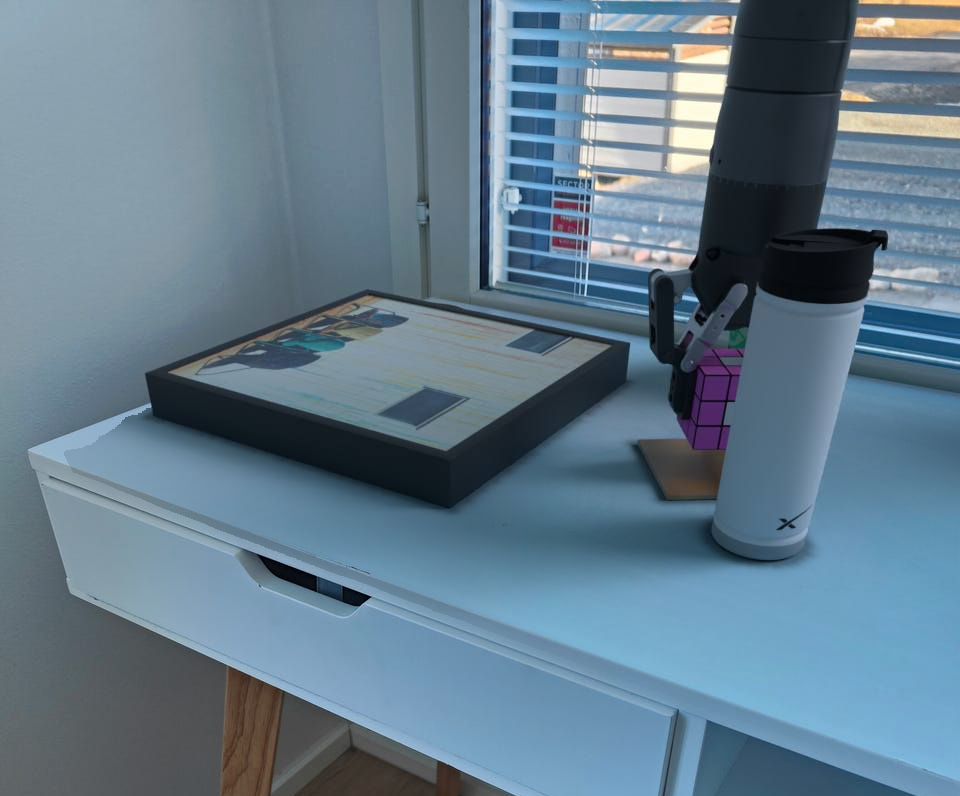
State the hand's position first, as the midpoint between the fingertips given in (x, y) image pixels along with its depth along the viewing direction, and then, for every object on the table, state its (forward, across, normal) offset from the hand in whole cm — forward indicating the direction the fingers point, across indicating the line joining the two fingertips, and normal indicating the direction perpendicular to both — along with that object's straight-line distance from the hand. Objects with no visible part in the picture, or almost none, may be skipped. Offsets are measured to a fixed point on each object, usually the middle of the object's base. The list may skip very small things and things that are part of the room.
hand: (724, 414), depth 70 cm
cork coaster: (+5, 0, 0) cm, 5 cm away
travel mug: (+5, 0, -11) cm, 12 cm away
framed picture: (+5, -24, +16) cm, 29 cm away
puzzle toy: (+2, 0, 0) cm, 2 cm away
